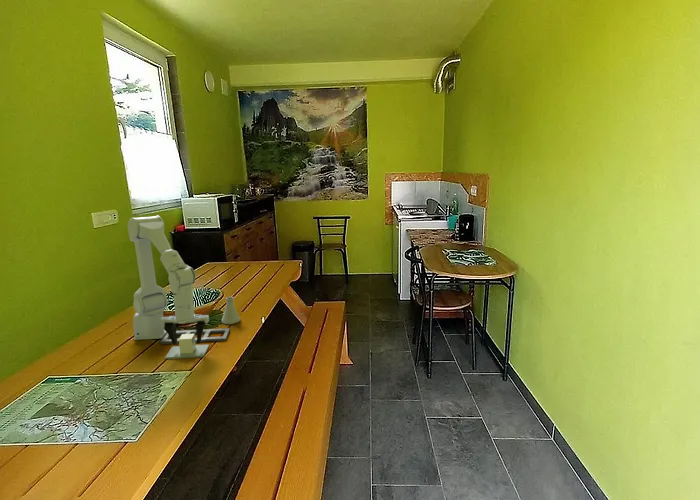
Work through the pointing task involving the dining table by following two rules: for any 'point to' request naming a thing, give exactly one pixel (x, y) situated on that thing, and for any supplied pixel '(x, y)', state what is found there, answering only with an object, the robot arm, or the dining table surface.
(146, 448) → the dining table surface
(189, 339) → the peg
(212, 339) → the grey slotted frame
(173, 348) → the pad
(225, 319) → the flask
